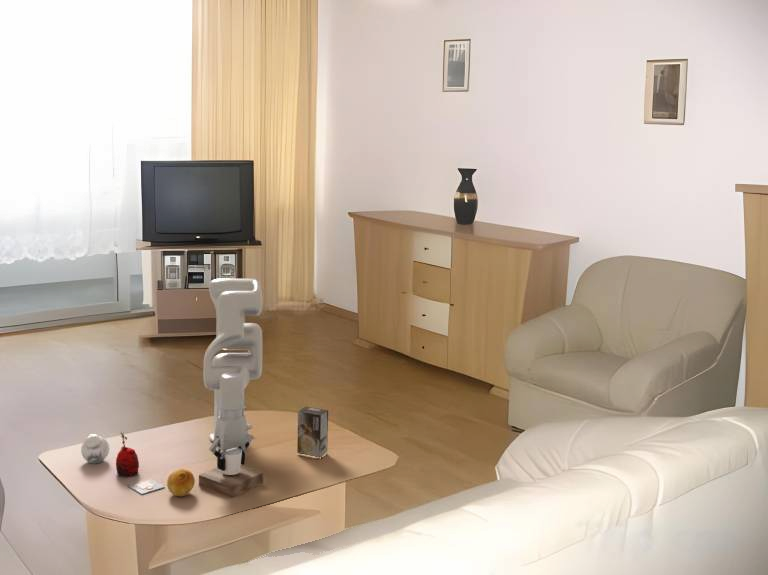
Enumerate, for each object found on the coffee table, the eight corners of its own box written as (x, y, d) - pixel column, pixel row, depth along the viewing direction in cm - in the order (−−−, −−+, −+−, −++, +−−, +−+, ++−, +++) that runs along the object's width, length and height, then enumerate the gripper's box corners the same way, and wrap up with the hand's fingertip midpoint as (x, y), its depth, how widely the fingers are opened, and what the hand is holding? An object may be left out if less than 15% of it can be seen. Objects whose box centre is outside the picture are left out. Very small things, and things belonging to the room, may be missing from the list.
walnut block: (230, 473, 288) (230, 461, 287) (262, 484, 280) (262, 472, 279) (198, 486, 276) (198, 474, 276) (231, 499, 269) (231, 486, 268)
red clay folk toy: (143, 473, 284) (143, 428, 281) (127, 480, 278) (126, 435, 275) (127, 467, 288) (126, 423, 285) (110, 474, 282) (109, 429, 279)
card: (150, 480, 279) (150, 478, 279) (164, 487, 273) (164, 486, 273) (127, 486, 273) (127, 485, 273) (141, 495, 268) (141, 493, 268)
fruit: (192, 500, 266) (192, 475, 264) (165, 500, 265) (164, 475, 263) (196, 489, 274) (196, 464, 272) (169, 488, 273) (169, 464, 271)
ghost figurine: (74, 464, 288) (73, 435, 287) (95, 455, 297) (94, 426, 295) (95, 470, 285) (94, 440, 283) (115, 460, 293) (115, 431, 291)
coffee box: (328, 454, 306) (329, 410, 303) (320, 460, 301) (321, 415, 298) (304, 449, 310) (305, 405, 307) (296, 455, 304) (297, 411, 301)
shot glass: (215, 472, 276) (215, 451, 275) (229, 465, 282) (229, 444, 281) (233, 477, 273) (233, 456, 272) (246, 470, 279) (246, 449, 278)
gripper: (246, 403, 283) (245, 456, 286) (201, 415, 270) (200, 470, 274) (261, 409, 277) (260, 463, 281) (215, 421, 265) (215, 477, 269)
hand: (231, 466), depth 277 cm, fingers closed on shot glass, 6 cm apart
